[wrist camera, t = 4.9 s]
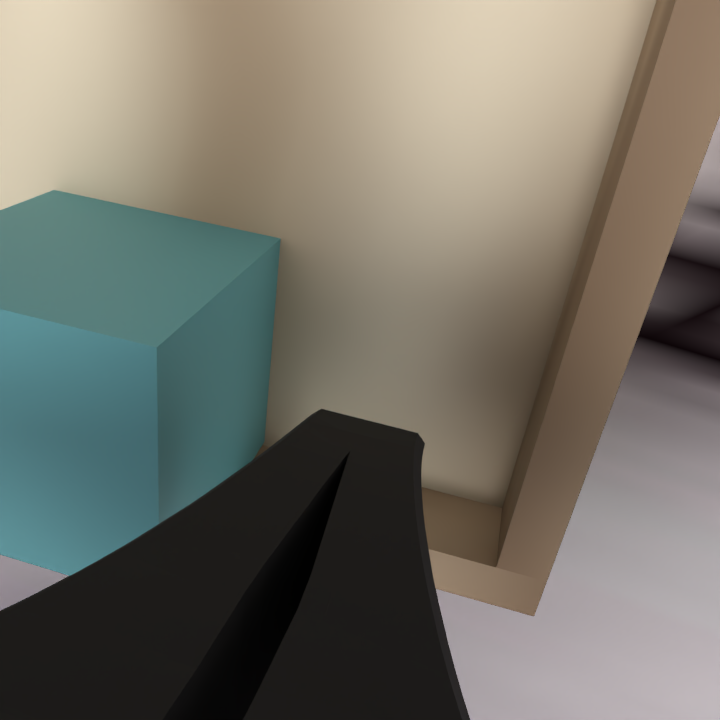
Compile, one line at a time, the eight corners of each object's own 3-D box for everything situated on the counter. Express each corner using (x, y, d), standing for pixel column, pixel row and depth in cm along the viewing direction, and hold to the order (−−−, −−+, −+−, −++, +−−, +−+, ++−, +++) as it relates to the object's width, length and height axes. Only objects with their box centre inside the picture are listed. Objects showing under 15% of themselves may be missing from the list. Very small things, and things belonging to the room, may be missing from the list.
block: (280, 238, 11) (156, 348, 8) (264, 442, 13) (159, 603, 9) (53, 189, 12) (-158, 271, 8) (70, 391, 13) (-94, 526, 10)
